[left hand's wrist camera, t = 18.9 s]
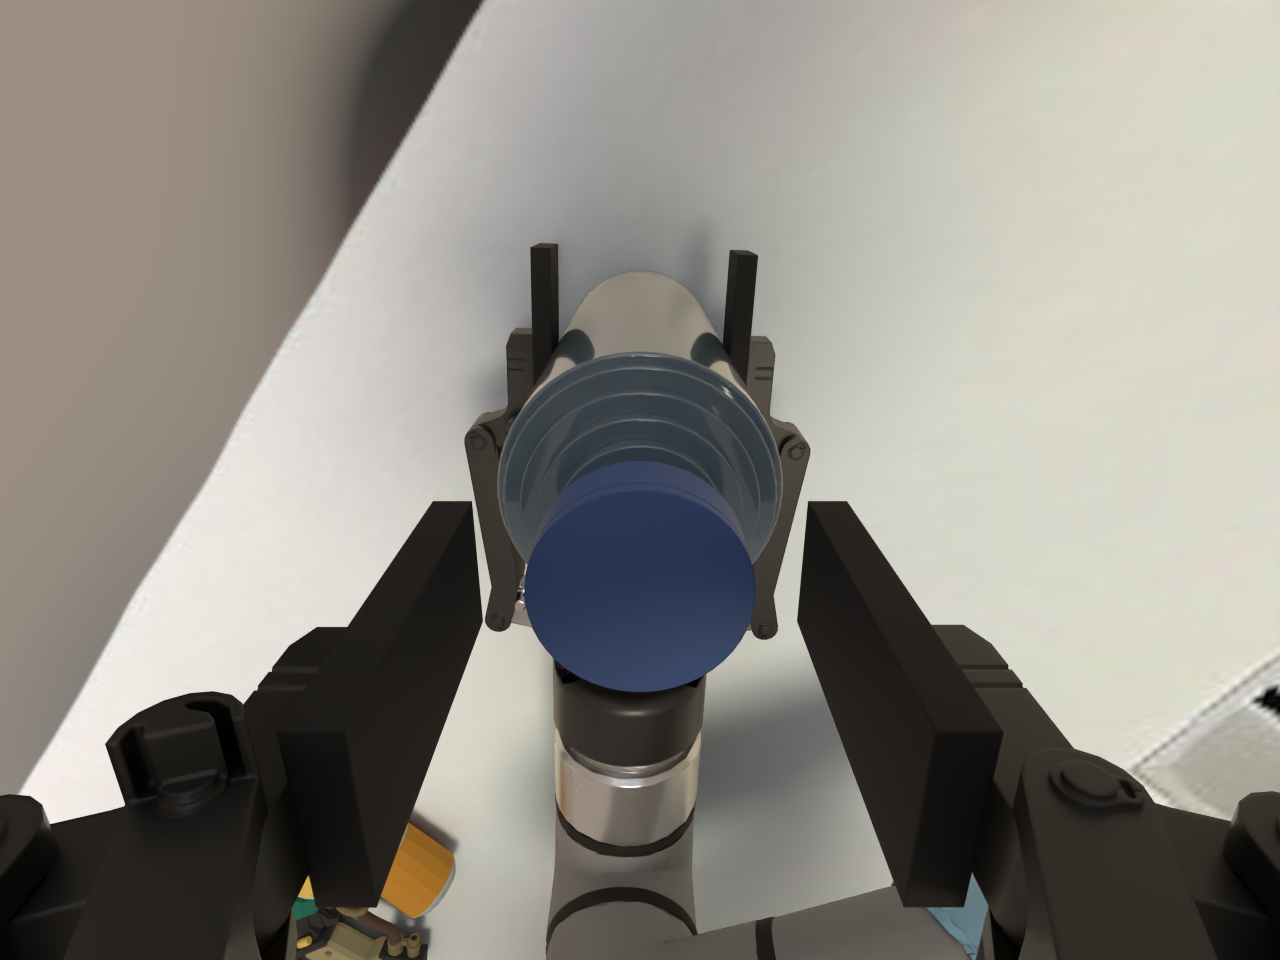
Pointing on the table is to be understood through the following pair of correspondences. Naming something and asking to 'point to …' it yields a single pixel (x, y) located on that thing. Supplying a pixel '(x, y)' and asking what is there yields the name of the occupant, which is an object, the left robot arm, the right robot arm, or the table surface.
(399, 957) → the spray gun
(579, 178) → the table surface
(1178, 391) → the table surface
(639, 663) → the cap
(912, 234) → the table surface
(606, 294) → the bottle
